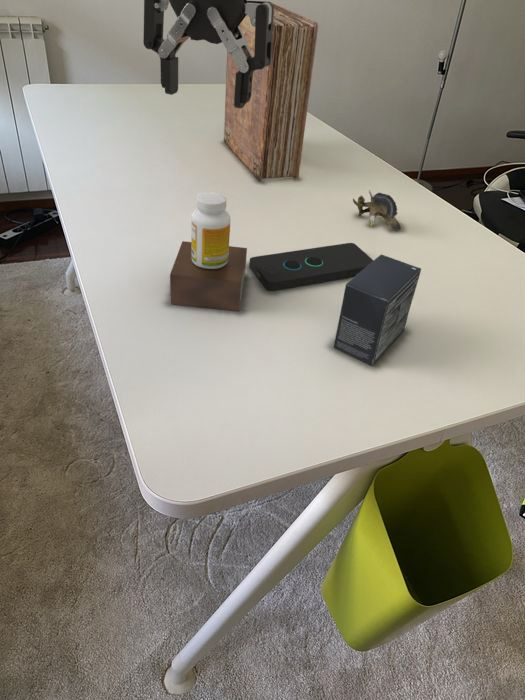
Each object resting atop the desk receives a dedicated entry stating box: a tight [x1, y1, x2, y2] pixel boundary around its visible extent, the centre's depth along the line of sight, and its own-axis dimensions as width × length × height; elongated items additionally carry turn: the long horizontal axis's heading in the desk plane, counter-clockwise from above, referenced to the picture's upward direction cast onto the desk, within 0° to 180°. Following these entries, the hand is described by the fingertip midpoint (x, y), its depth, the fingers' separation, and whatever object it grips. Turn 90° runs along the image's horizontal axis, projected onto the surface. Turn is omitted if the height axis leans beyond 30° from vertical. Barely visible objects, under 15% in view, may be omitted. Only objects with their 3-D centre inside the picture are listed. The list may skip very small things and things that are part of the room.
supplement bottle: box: [191, 191, 231, 269], centre depth 77 cm, size 5×5×10 cm
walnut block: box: [169, 240, 248, 312], centre depth 82 cm, size 10×10×5 cm
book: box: [223, 0, 319, 183], centre depth 119 cm, size 25×9×30 cm, turn 21°
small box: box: [333, 254, 422, 366], centre depth 74 cm, size 11×6×10 cm, turn 145°
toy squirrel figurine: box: [352, 190, 402, 232], centre depth 105 cm, size 8×7×9 cm
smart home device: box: [248, 242, 375, 292], centre depth 90 cm, size 8×2×20 cm
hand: (205, 99), depth 64 cm, fingers open, 8 cm apart
